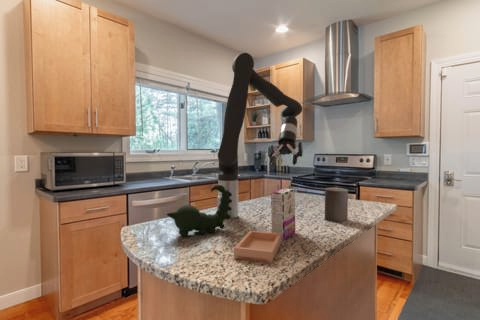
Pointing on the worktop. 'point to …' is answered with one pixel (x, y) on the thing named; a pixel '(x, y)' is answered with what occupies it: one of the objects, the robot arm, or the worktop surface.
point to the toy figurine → (202, 216)
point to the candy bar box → (283, 212)
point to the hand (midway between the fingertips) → (283, 164)
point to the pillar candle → (336, 204)
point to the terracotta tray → (258, 246)
